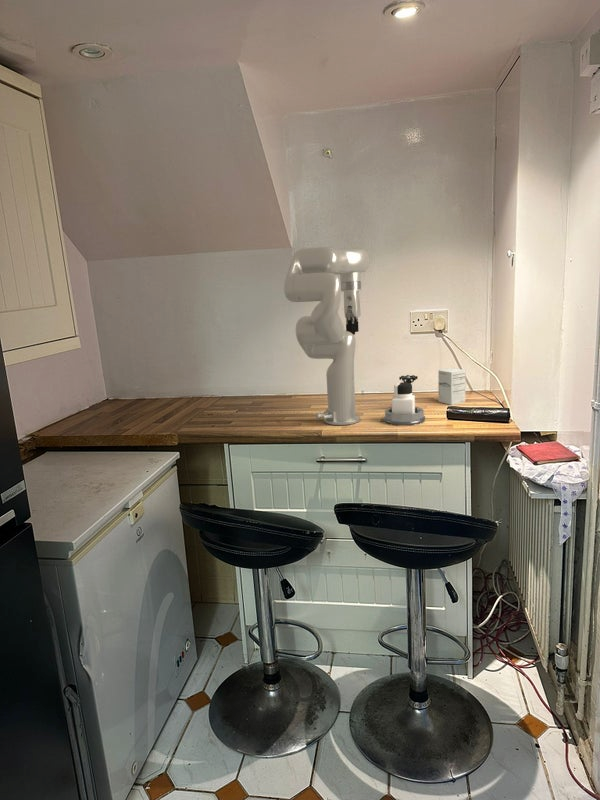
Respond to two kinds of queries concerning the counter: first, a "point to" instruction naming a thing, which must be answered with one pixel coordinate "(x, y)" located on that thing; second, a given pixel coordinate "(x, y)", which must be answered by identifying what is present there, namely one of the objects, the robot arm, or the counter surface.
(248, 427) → the counter surface
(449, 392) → the supplement box
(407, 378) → the valve
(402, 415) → the ring collar
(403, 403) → the medicine bottle
